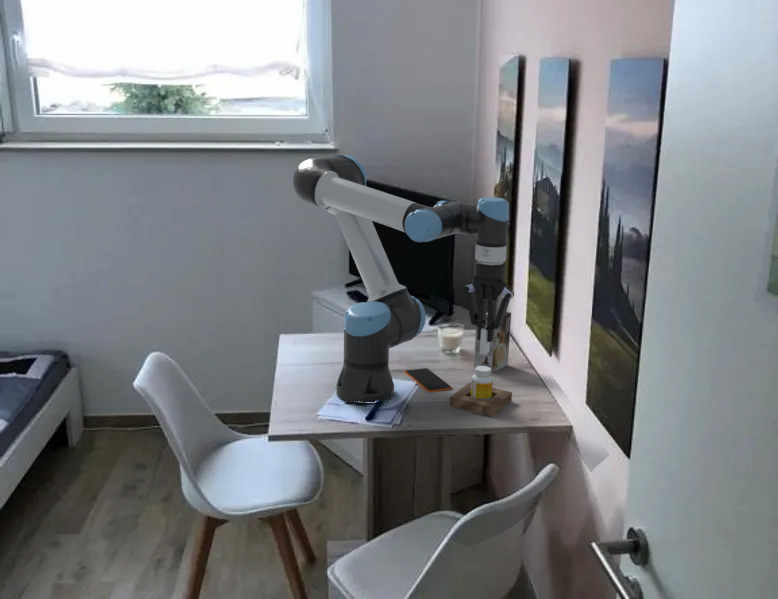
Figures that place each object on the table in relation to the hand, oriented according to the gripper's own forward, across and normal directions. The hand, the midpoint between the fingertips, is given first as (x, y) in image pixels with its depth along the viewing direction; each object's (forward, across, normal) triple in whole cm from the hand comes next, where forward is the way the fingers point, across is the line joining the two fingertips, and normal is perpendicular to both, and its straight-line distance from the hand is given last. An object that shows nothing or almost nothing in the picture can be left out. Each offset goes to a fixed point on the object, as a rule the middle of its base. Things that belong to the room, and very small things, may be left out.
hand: (484, 352), depth 213 cm
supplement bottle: (+14, 0, 0) cm, 14 cm away
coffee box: (+14, -9, +27) cm, 32 cm away
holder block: (+14, 0, 0) cm, 14 cm away
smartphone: (+14, -19, +7) cm, 25 cm away
